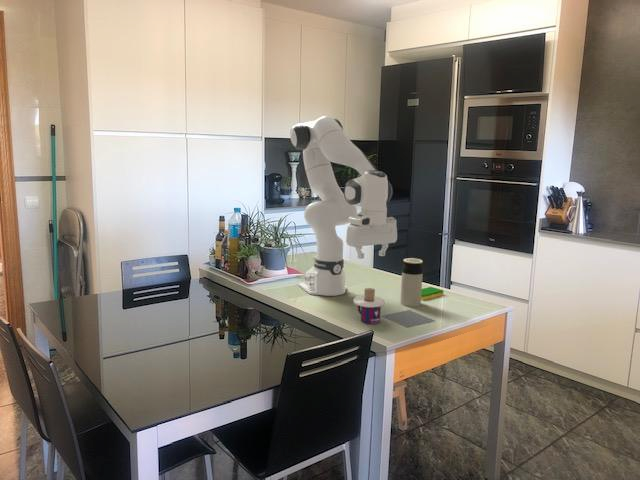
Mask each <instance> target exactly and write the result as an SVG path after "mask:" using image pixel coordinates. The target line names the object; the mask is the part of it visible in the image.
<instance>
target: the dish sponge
mask: <svg viewBox="0 0 640 480" xmlns="http://www.w3.org/2000/svg"><path fill="white" fill-rule="evenodd" d="M444 293H445V291H444V290H443V289H440V288H437V287H432V286H429V287H425V288H422V290H421V301H425V300H429V299H434V298H437V297H440V296H444Z"/></svg>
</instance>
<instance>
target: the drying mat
mask: <svg viewBox="0 0 640 480" xmlns="http://www.w3.org/2000/svg"><path fill="white" fill-rule="evenodd" d="M381 317H383V318H384V319H388V320H390V321H392V322H394V323H395V324H398V325H400V326H403V327H405V328H407V329H408V328H411V327H416V326H420V325H425V324H430V323H434V322H436V320H435V319H433V318H430V317H428V316H425V315H422V314H421V313H418V312H415V311H413V310H411V309H409V310H407V309H406V310H402V311H397V312H392V313H387V314H383V315H381Z"/></svg>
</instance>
